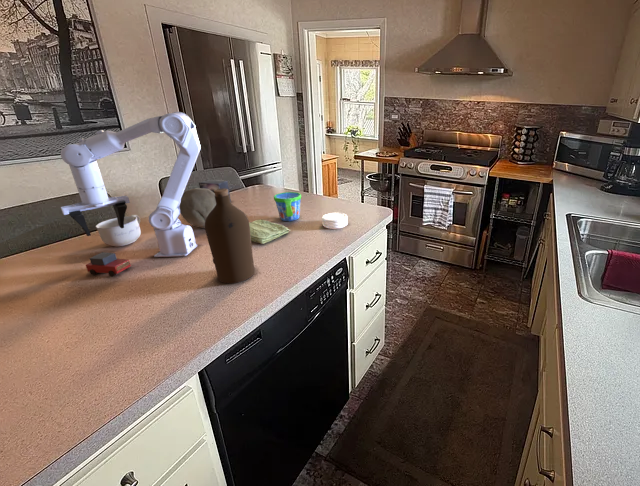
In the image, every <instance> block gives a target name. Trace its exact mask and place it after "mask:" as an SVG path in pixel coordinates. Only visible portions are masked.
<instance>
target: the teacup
mask: <svg viewBox="0 0 640 486" xmlns="http://www.w3.org/2000/svg"><path fill="white" fill-rule="evenodd" d="M140 224H141V217H140V216H139V215H138V214H131V215H127V216H126V215H125V216H124V228H120V226H119V224H118V219H117V217H115V218H110V219H106V220H103V221H101V222H99V223H97V224H96V225H95V229H96V230H97V232H98V235H99V238H100V239H101V241H102V242H103V243H104V244H106V245H108V246H112V247H124V246H127V245H130V244H132V243H135V242H136V241H137V240H138V239H139V238H140V236H141V234H142V231H141V227H140Z"/></svg>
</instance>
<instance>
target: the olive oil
mask: <svg viewBox="0 0 640 486" xmlns="http://www.w3.org/2000/svg"><path fill="white" fill-rule="evenodd" d="M214 193H215V201H216V206H215V207H214V208H213V210H212V211H211V212H210V213H209V215H208V216H207V218H206V220H205V228H204V231H205V236H206V238H207V242H208V246H209V249H210V252H211V256H212V263H213V265H214V267H215V271H216V276H217V279H218V281H219V282H221V283H223V284H237V283H241V282H244V281H247V280H248V279H250V278H252V277H253V276H254V275H255V262H254V256H253V255H254V254H253V245H252V241H251V235H250V225H249V223H250V220H249V218H248V216H247V214H246V213H245V212H244V211H243V210H242V209H240V208H239V207H237V206H236V205H234V204H233V203H232V201H231V202H230V198H231V195H230V196H229V194H228V189H224V188H223V189H216V190H214Z"/></svg>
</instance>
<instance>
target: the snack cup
mask: <svg viewBox="0 0 640 486" xmlns="http://www.w3.org/2000/svg"><path fill="white" fill-rule="evenodd" d="M301 199H302V194H301V193H300V192H297V191H285V192H279V193H276V194H275V195H274V196H273V201H274V202H275V205H276V209H277V212H278V214H279V215H278V216H279V217H280V219H281V221H282V222H293V221H296V220H299V219H300V215H301Z"/></svg>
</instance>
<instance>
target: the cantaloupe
mask: <svg viewBox="0 0 640 486" xmlns="http://www.w3.org/2000/svg"><path fill="white" fill-rule="evenodd" d="M215 206H216V201H215V194H214V193H213V192H212V191H211V190H209V189H206V188H200V187H197V188H190V189H187V190H185V191H184V193H183V195H182V198H181V203H180V205H179V208H180V215H181V217H182V218H183V219H184V220H185V221H186V222H187V223H188V224H189V225H190V226H194V227H197V228H200V229H205V220H206V218H207V216H208V215H209V213H210V212H211V211H212V210H213V208H214V207H215Z"/></svg>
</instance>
